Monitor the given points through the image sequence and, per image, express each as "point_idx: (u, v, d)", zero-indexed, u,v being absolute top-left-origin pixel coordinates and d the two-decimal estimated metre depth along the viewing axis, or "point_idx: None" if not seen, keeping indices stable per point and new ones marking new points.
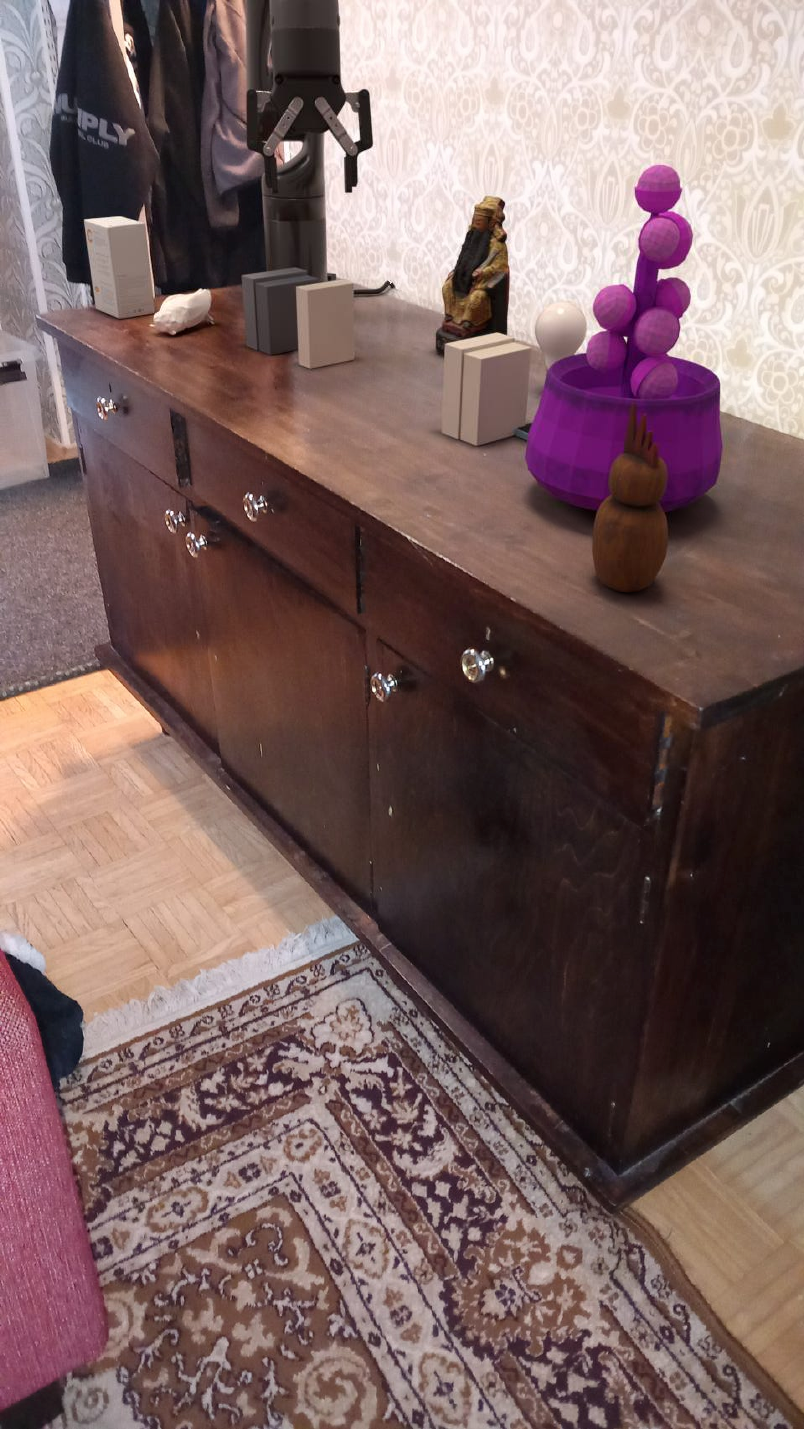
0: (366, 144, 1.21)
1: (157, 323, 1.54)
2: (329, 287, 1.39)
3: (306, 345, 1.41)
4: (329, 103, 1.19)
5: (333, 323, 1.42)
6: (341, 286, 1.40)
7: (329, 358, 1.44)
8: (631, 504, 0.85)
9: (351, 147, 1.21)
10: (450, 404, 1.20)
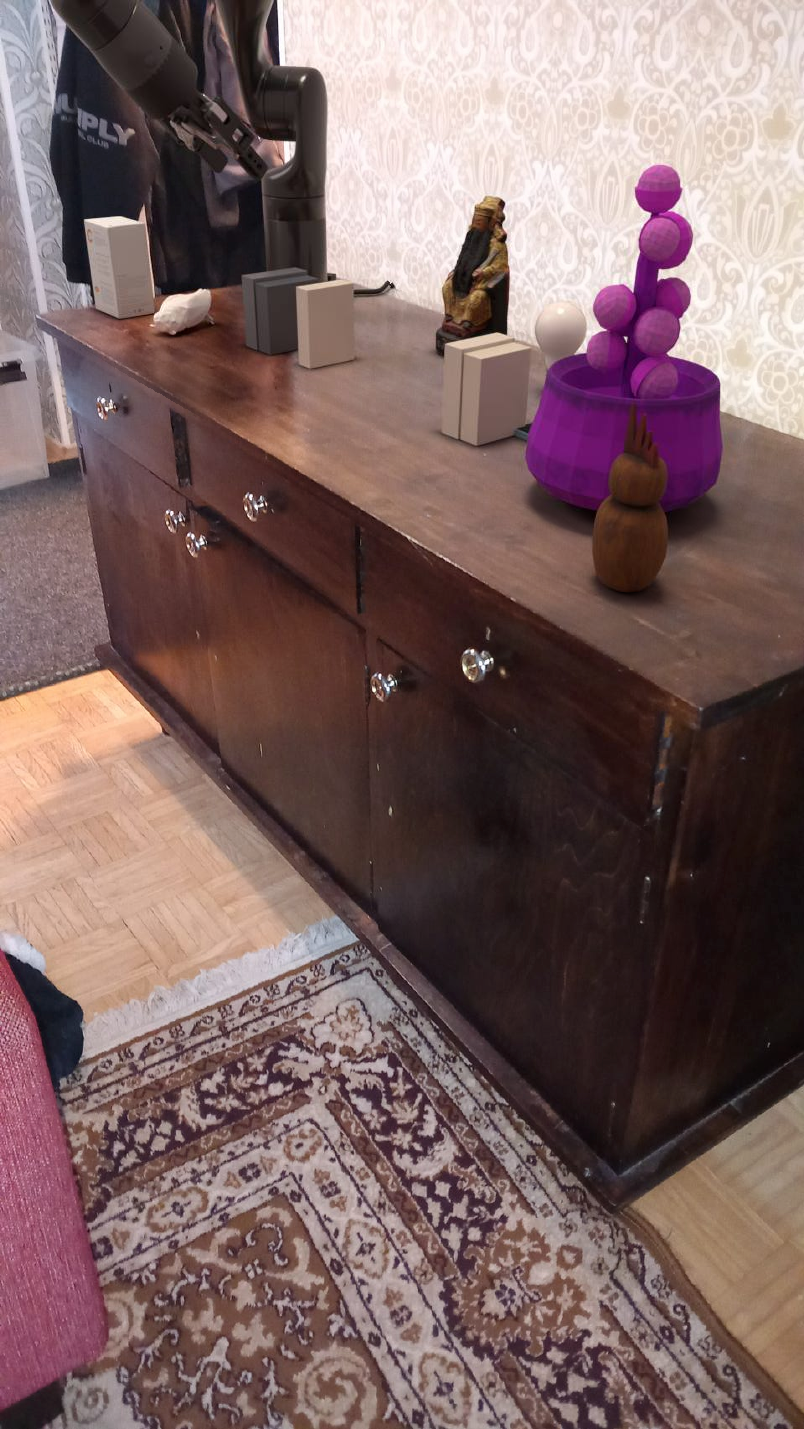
0: (237, 153, 1.18)
1: (157, 323, 1.54)
2: (329, 287, 1.39)
3: (306, 345, 1.41)
4: (195, 121, 1.17)
5: (333, 323, 1.42)
6: (341, 286, 1.40)
7: (329, 358, 1.44)
8: (631, 504, 0.85)
9: (231, 154, 1.19)
10: (450, 404, 1.20)
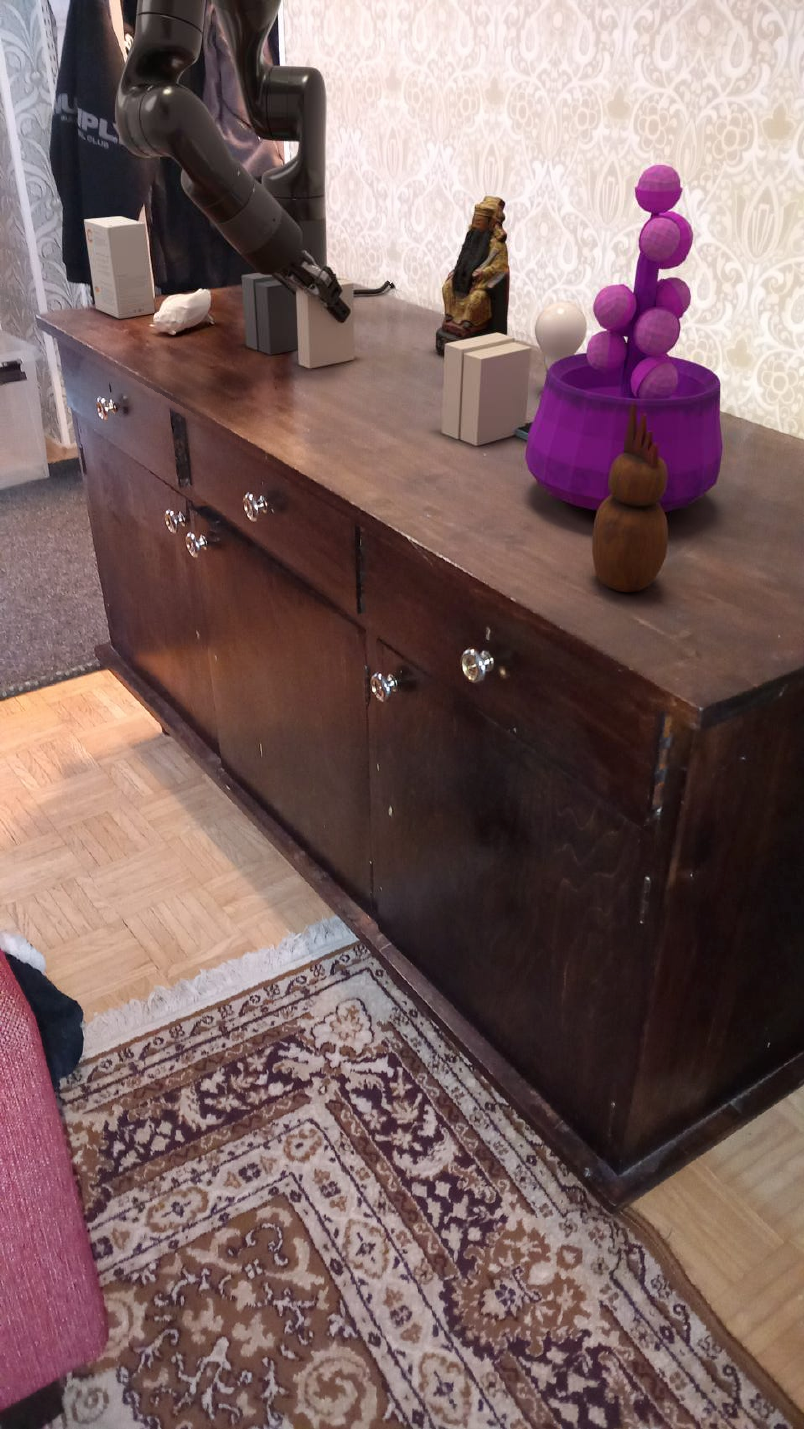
0: (327, 303, 1.37)
1: (157, 323, 1.54)
2: None
3: (306, 345, 1.41)
4: (298, 275, 1.34)
5: (333, 323, 1.42)
6: None
7: (329, 358, 1.44)
8: (631, 504, 0.85)
9: (321, 303, 1.39)
10: (450, 404, 1.20)
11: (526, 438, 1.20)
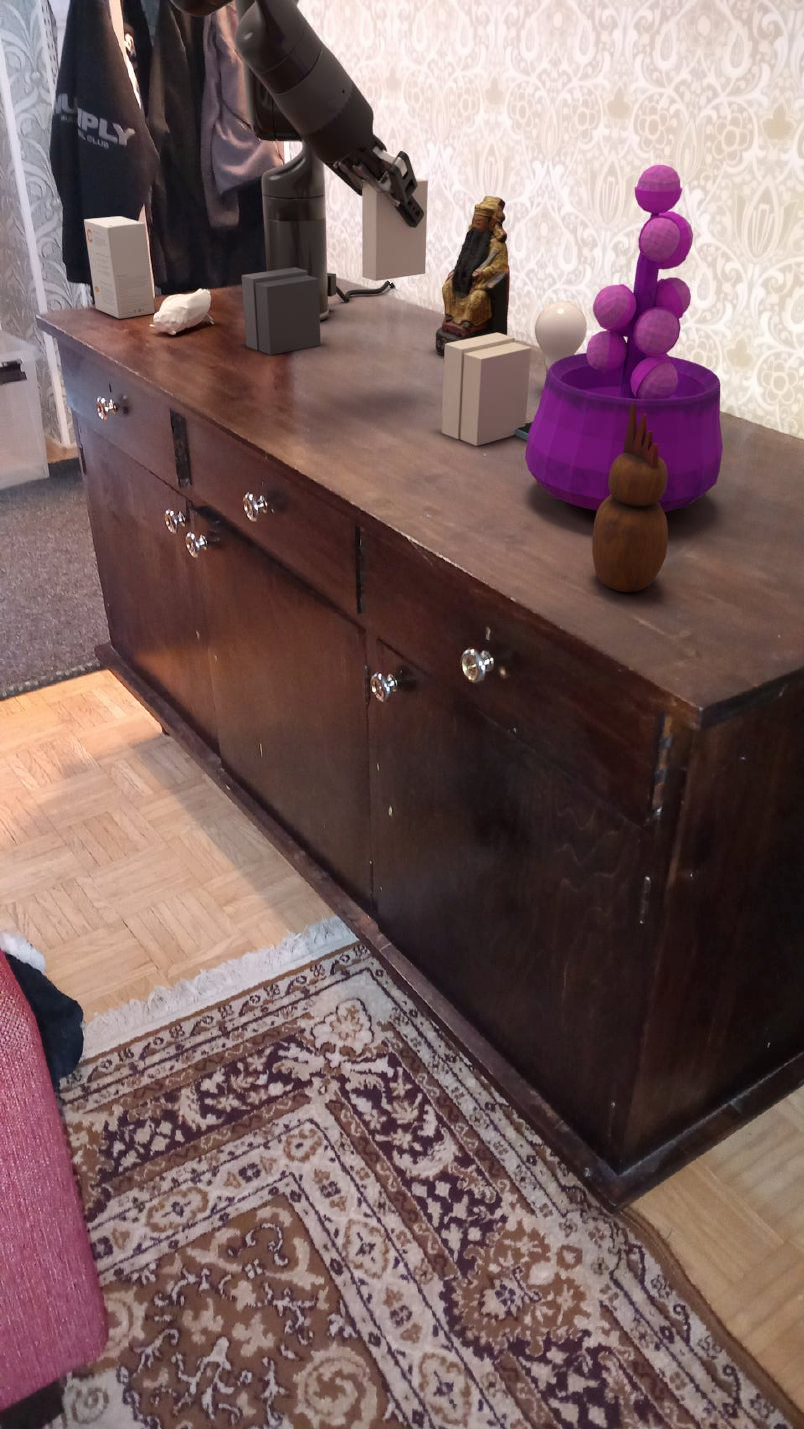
0: (399, 200, 1.17)
1: (157, 323, 1.54)
2: None
3: (372, 253, 1.22)
4: (367, 164, 1.14)
5: (403, 228, 1.22)
6: None
7: (398, 269, 1.24)
8: (631, 504, 0.85)
9: (392, 202, 1.19)
10: (450, 404, 1.20)
11: (525, 438, 1.21)
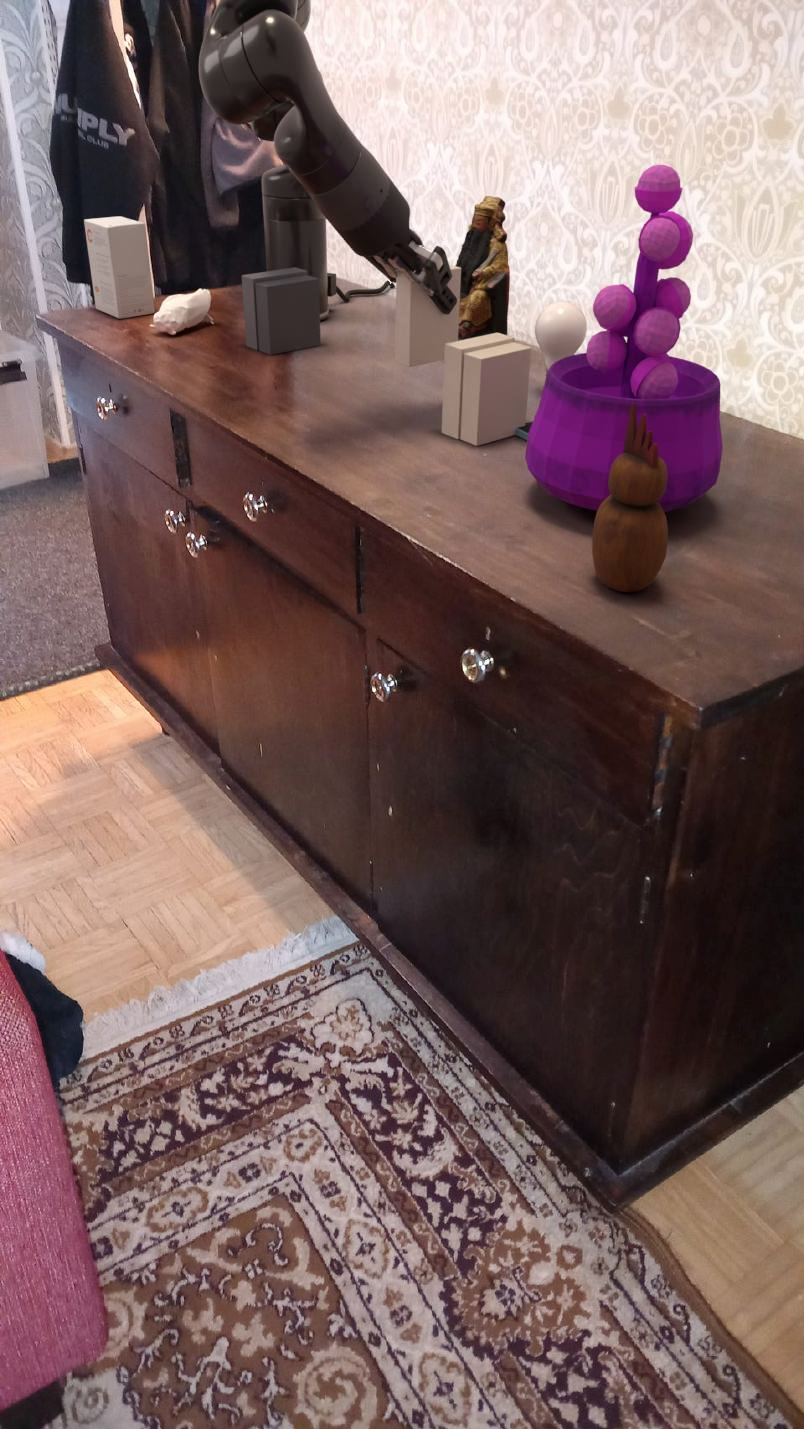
0: (434, 291, 1.18)
1: (157, 323, 1.54)
2: None
3: (405, 340, 1.22)
4: (402, 257, 1.14)
5: (436, 315, 1.22)
6: None
7: (430, 355, 1.24)
8: (631, 504, 0.85)
9: (426, 291, 1.19)
10: (450, 404, 1.20)
11: (525, 437, 1.21)
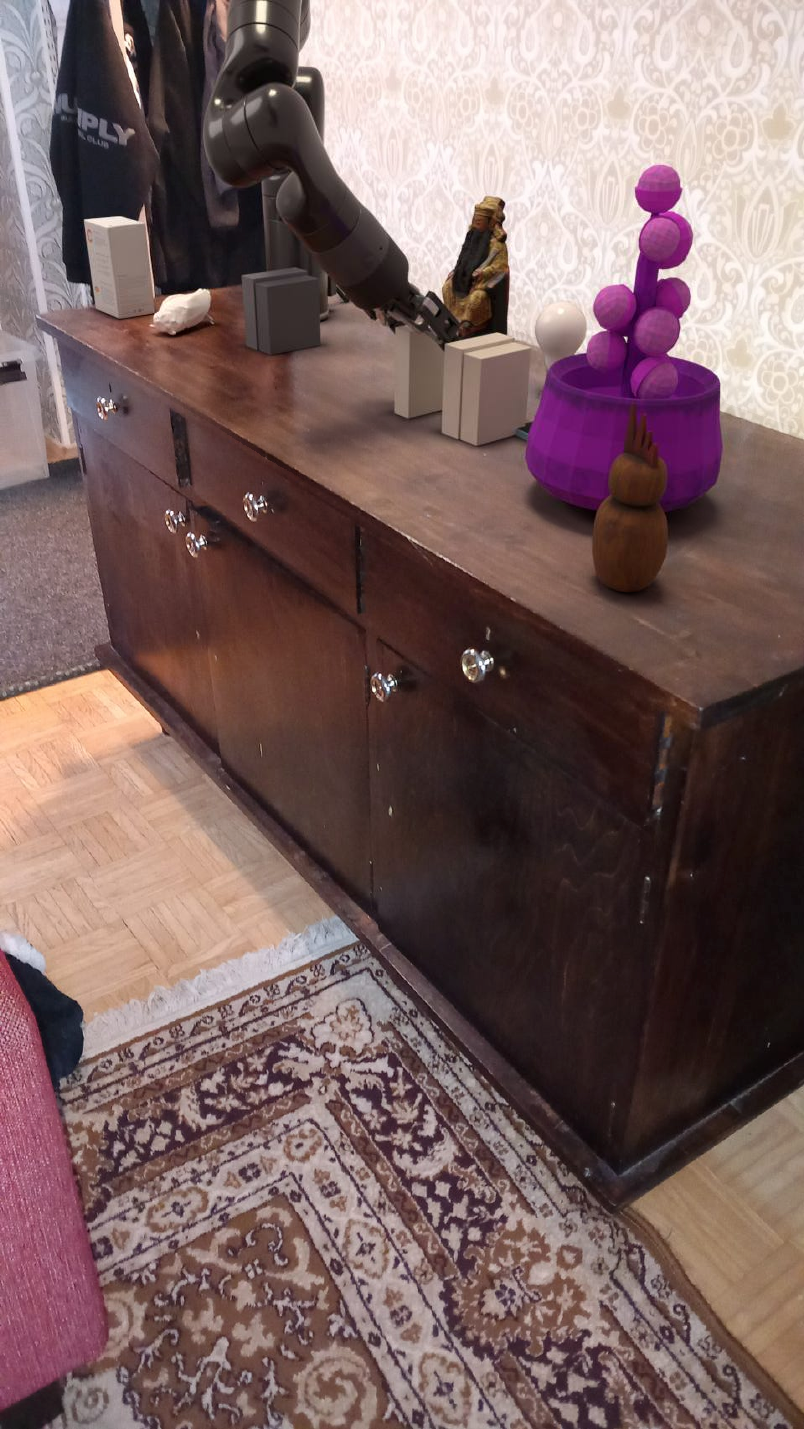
0: (443, 341, 1.18)
1: (157, 323, 1.54)
2: None
3: (404, 393, 1.25)
4: (402, 310, 1.17)
5: (435, 368, 1.25)
6: None
7: (429, 406, 1.28)
8: (631, 504, 0.85)
9: (435, 340, 1.19)
10: (450, 404, 1.20)
11: (524, 437, 1.21)
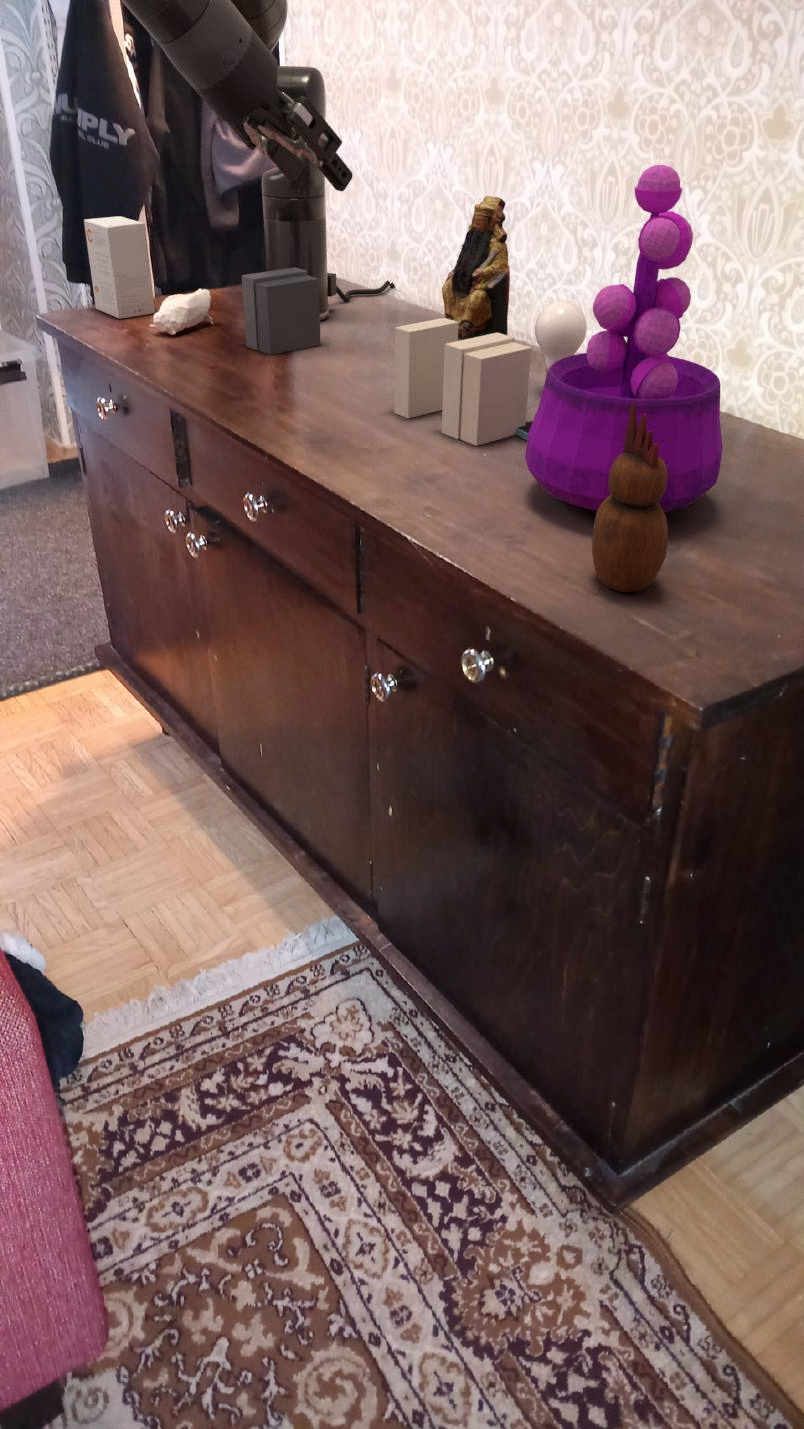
0: (322, 160, 1.04)
1: (157, 323, 1.54)
2: (433, 328, 1.23)
3: (404, 393, 1.25)
4: (274, 124, 1.03)
5: (434, 368, 1.25)
6: (445, 326, 1.24)
7: (429, 406, 1.28)
8: (631, 504, 0.85)
9: (314, 161, 1.05)
10: (450, 404, 1.20)
11: (524, 436, 1.21)
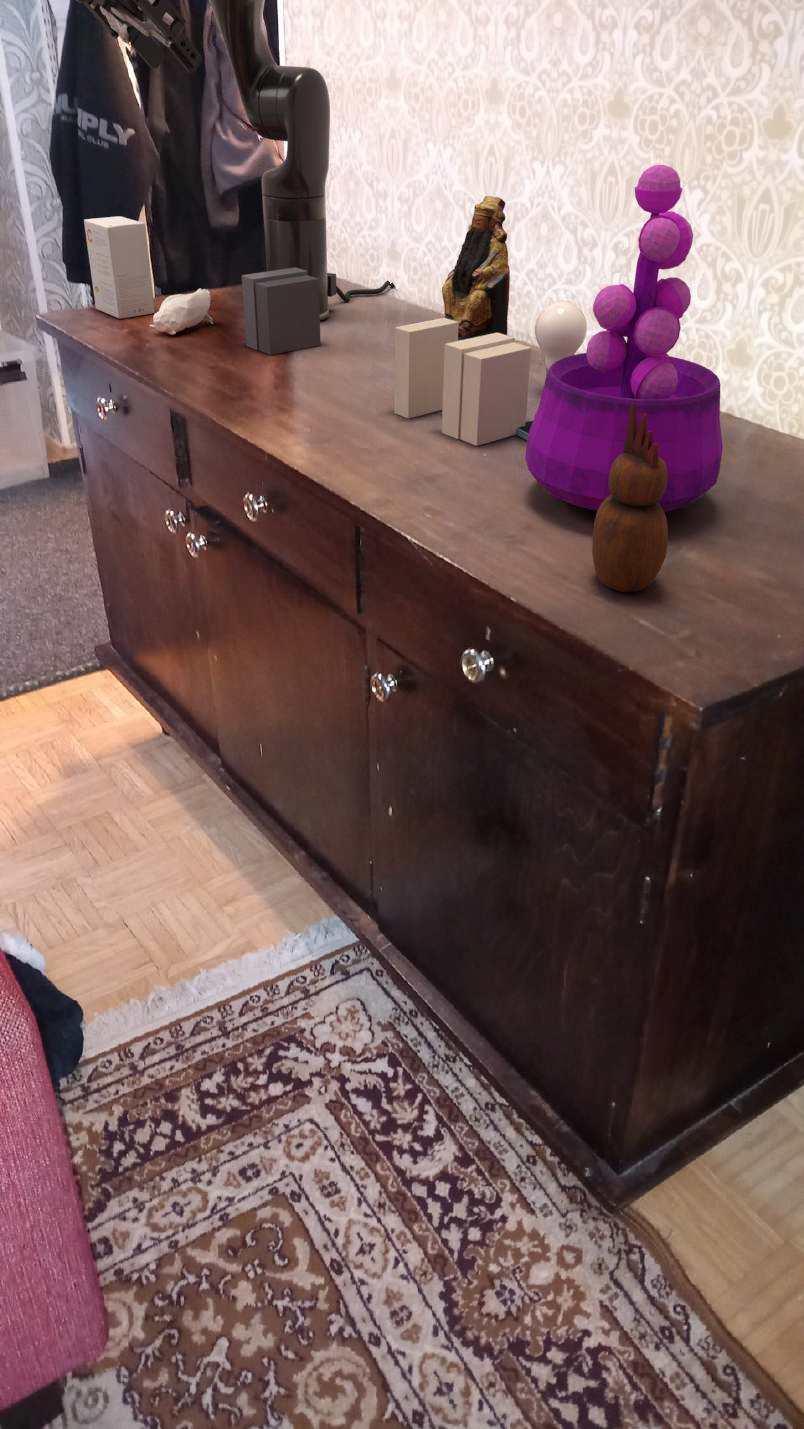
0: (169, 39, 1.14)
1: (157, 323, 1.54)
2: (433, 328, 1.23)
3: (404, 393, 1.25)
4: (124, 5, 1.14)
5: (435, 368, 1.25)
6: (445, 326, 1.24)
7: (429, 406, 1.28)
8: (631, 504, 0.85)
9: (163, 41, 1.16)
10: (450, 404, 1.20)
11: (523, 436, 1.21)
